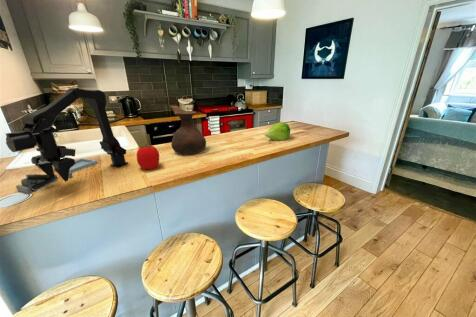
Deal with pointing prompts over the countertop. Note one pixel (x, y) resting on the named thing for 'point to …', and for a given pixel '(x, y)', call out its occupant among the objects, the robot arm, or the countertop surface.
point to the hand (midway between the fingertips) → (59, 179)
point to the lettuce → (278, 131)
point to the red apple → (148, 157)
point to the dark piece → (38, 181)
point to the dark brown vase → (187, 134)
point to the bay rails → (27, 190)
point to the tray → (82, 164)
